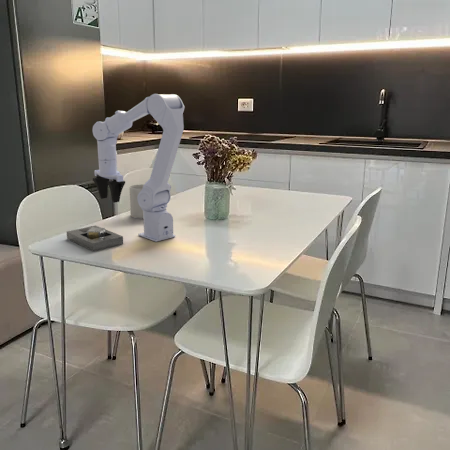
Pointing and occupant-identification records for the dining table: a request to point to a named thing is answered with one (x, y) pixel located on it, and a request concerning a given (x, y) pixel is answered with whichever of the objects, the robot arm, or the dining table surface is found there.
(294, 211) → the dining table surface
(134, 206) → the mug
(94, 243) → the grey recessed tray
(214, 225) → the dining table surface
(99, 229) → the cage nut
